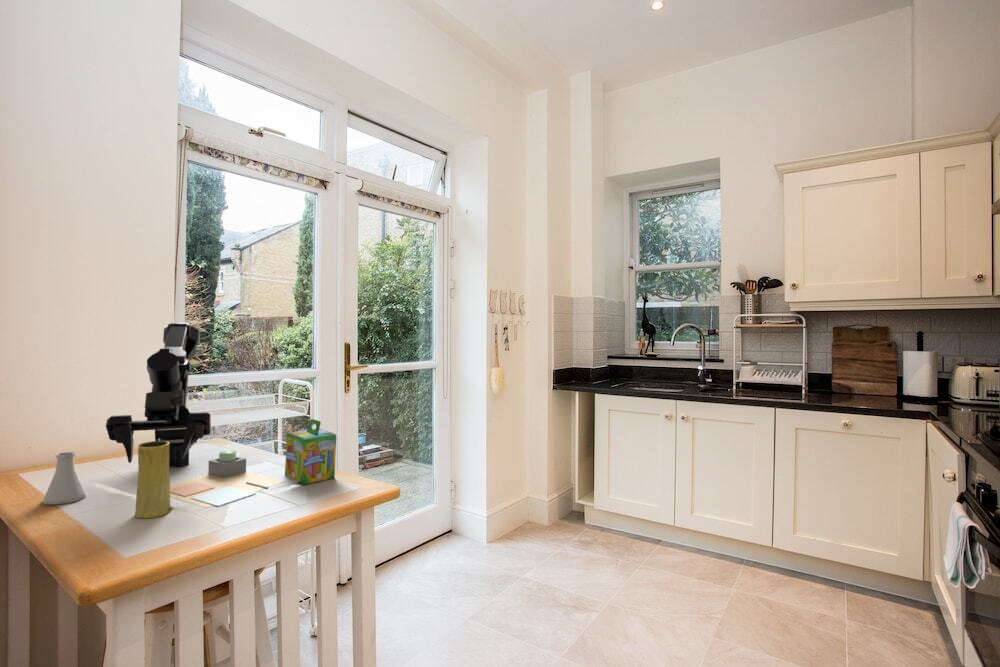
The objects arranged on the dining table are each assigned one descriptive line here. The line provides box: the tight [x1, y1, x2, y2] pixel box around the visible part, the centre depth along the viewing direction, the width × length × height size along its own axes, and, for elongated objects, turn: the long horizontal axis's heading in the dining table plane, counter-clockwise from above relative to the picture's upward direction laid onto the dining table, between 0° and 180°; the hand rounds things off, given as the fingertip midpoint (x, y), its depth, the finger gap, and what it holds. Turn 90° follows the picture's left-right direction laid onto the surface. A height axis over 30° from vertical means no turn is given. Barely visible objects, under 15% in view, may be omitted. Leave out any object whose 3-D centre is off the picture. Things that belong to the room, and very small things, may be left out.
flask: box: [42, 451, 86, 505], centre depth 109 cm, size 7×7×10 cm
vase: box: [134, 440, 172, 520], centre depth 104 cm, size 6×6×14 cm
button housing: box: [207, 455, 247, 478], centre depth 129 cm, size 6×6×4 cm
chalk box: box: [284, 418, 337, 486], centre depth 130 cm, size 9×9×15 cm
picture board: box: [170, 471, 286, 509], centre depth 119 cm, size 22×20×1 cm
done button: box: [218, 449, 237, 463], centre depth 128 cm, size 4×4×4 cm
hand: (156, 459), depth 106 cm, fingers open, 9 cm apart
